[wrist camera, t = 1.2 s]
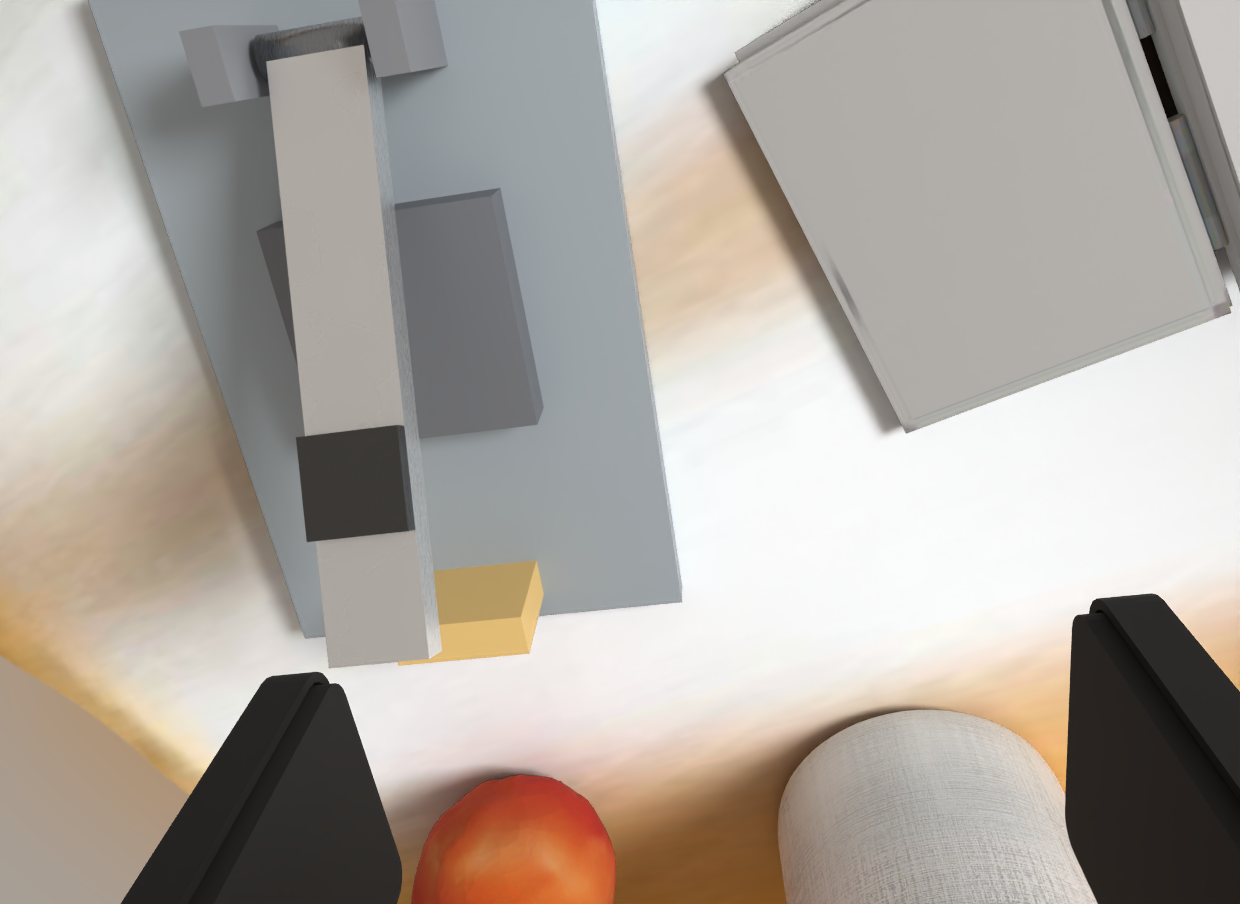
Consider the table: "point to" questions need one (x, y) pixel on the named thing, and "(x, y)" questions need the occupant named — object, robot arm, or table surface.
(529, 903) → the tomato
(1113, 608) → the robot arm
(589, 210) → the clamp base
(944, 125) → the gadget
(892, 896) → the planter
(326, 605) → the clamp bar
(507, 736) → the table surface
